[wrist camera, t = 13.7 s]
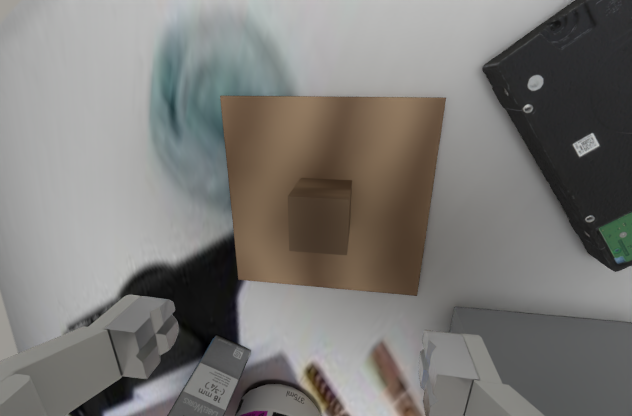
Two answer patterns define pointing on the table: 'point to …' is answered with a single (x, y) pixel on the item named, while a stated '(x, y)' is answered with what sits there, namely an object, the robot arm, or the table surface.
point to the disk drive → (578, 116)
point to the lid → (332, 188)
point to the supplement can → (276, 402)
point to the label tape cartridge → (212, 380)
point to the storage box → (557, 359)
